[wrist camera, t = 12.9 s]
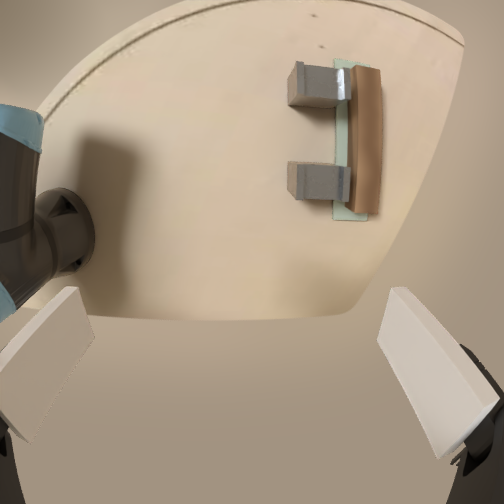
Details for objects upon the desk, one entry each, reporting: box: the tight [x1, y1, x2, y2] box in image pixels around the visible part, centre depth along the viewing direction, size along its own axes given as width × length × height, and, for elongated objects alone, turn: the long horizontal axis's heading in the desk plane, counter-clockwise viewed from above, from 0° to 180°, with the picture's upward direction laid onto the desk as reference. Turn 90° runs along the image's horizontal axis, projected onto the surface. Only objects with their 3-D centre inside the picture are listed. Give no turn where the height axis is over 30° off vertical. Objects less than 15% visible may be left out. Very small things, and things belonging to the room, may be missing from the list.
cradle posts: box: [287, 61, 351, 202], centre depth 30 cm, size 6×16×8 cm, turn 0°
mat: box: [332, 58, 370, 221], centre depth 34 cm, size 6×24×1 cm, turn 0°
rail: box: [345, 65, 382, 214], centre depth 31 cm, size 4×20×4 cm, turn 0°
